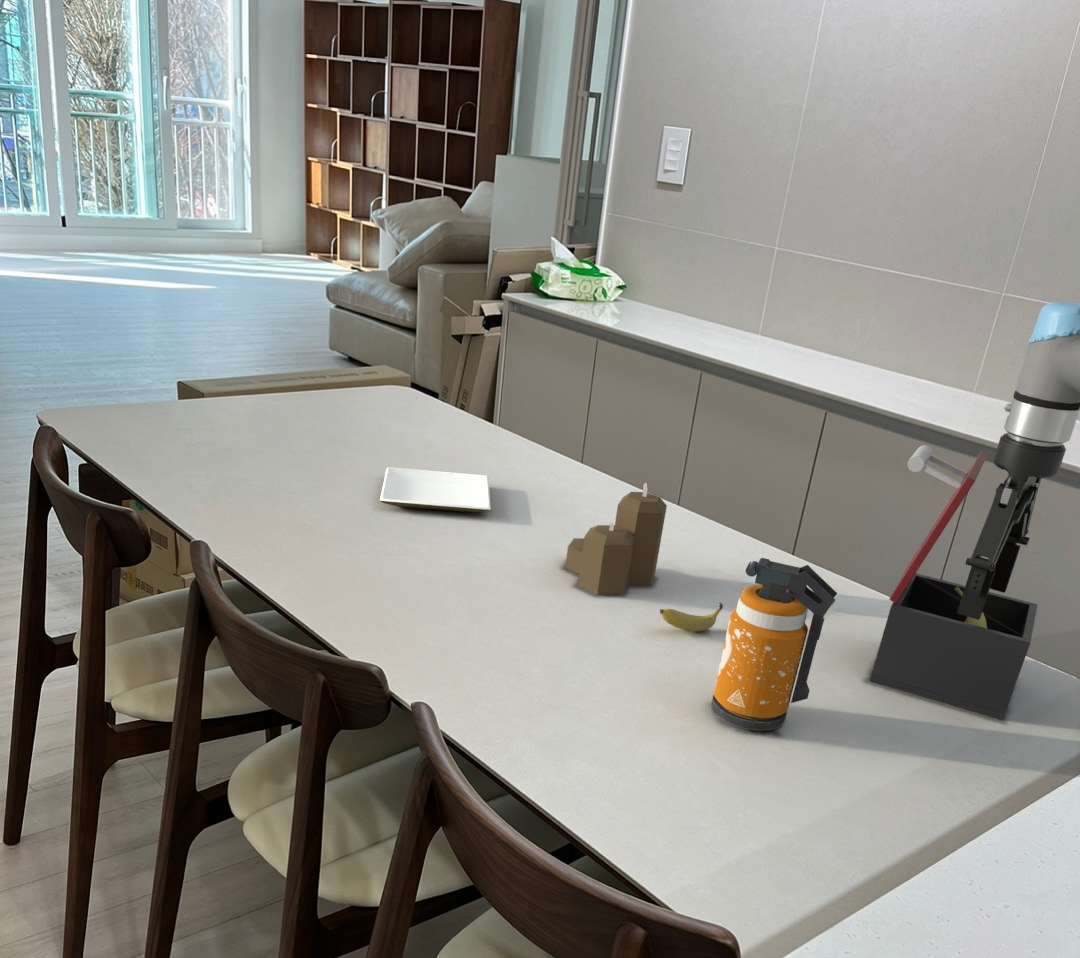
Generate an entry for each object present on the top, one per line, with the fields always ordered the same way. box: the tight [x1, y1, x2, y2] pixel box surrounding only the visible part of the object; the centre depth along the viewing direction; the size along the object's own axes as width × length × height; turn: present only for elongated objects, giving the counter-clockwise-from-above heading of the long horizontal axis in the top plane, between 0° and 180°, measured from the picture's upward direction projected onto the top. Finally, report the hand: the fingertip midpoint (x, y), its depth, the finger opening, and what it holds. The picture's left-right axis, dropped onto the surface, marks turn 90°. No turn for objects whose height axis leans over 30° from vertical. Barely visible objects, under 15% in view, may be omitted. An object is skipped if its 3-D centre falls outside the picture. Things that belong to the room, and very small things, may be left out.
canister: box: [710, 557, 838, 731], centre depth 123 cm, size 9×11×20 cm
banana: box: [659, 602, 724, 633], centre depth 148 cm, size 10×2×4 cm, turn 113°
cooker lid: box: [889, 444, 988, 603], centre depth 137 cm, size 18×15×8 cm
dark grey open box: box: [869, 572, 1039, 721], centre depth 141 cm, size 17×15×11 cm
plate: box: [379, 466, 492, 514], centre depth 187 cm, size 19×19×2 cm
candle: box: [564, 482, 667, 596], centre depth 160 cm, size 14×14×15 cm
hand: (982, 602), depth 138 cm, fingers open, 12 cm apart
